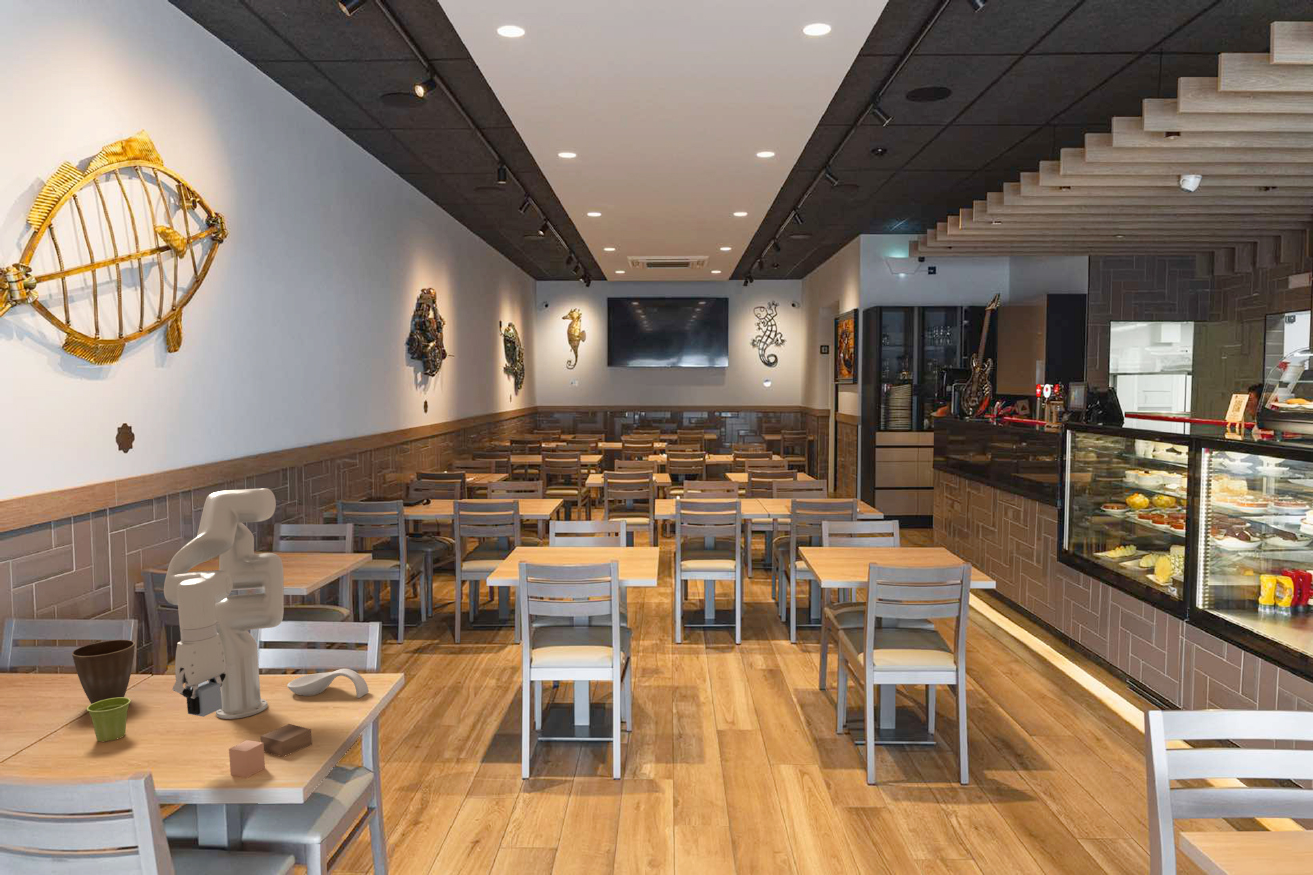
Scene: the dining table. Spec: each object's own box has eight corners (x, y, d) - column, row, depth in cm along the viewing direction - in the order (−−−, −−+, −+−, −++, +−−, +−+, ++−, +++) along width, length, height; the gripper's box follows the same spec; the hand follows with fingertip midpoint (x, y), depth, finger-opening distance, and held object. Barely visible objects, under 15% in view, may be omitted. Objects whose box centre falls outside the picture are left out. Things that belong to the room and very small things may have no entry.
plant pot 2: (141, 731, 221) (139, 698, 221) (107, 746, 212) (105, 712, 212) (114, 728, 224) (112, 695, 224) (80, 742, 215) (77, 708, 215)
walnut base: (261, 751, 207) (260, 735, 206) (290, 739, 214) (289, 723, 213) (283, 758, 203) (282, 741, 203) (312, 745, 210) (311, 729, 210)
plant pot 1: (149, 698, 246) (145, 643, 245) (92, 716, 233) (87, 658, 232) (122, 690, 254) (118, 637, 253) (66, 707, 241) (61, 651, 240)
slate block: (187, 713, 199) (185, 688, 198) (206, 705, 204) (204, 680, 203) (203, 716, 197) (201, 691, 196) (222, 708, 202) (220, 683, 201)
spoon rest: (279, 698, 243) (277, 673, 242) (306, 684, 254) (304, 660, 254) (352, 703, 237) (351, 678, 236) (377, 688, 248) (375, 664, 248)
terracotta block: (230, 774, 194) (228, 748, 194) (248, 765, 199) (247, 739, 199) (247, 777, 192) (245, 751, 192) (265, 768, 197) (263, 742, 197)
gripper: (218, 620, 208) (223, 693, 209) (153, 642, 192) (160, 721, 194) (241, 623, 205) (246, 697, 207) (177, 645, 189) (184, 725, 191)
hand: (204, 707), depth 200 cm, fingers closed on slate block, 5 cm apart
